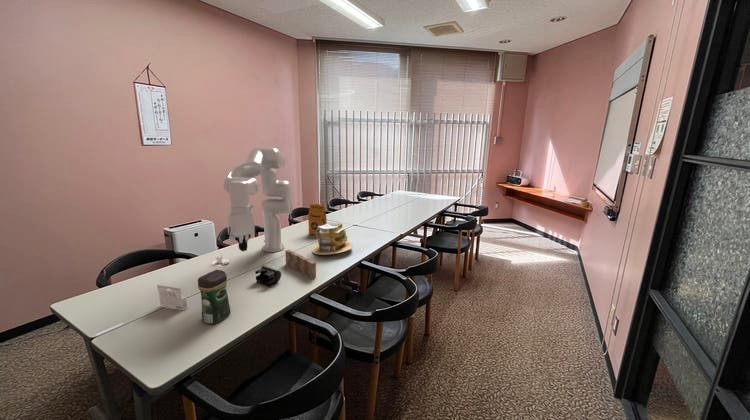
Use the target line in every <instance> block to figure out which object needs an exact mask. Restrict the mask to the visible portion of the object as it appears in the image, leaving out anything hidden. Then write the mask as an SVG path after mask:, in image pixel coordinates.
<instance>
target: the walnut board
mask: <svg viewBox="0 0 750 420" xmlns="http://www.w3.org/2000/svg"><path fill="white" fill-rule="evenodd" d="M285 264H286V265H287V266H289V267H290V268H292V269H294V270H295V271H298V272H299V273H301V274H303V275H305V276H307V277H308V278H310V279H312V280H314V279H316V278H317V262H315V261H313V260H311V259H309V258H307V257H305V256H303V255H301V254H298V252H295V251H293V250H291V249H285Z"/></svg>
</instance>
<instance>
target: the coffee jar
mask: <svg viewBox="0 0 750 420" xmlns="http://www.w3.org/2000/svg"><path fill="white" fill-rule="evenodd" d="M227 284H228V278H227V274H226V272H225V270H221V269H215V270H212V271H210V272H208V273H206V274H204V275H202V276H200V277H199V278H198V279H197V287H198V289H199V291H200V295H201V296H200V297H201V320H202V322H203V323H206V324H208V325H215V324H218V323H220V322H221V321H223V320H224V319H226V318H227V317H229V315H231V307H230V301H229V296H228V291H227Z"/></svg>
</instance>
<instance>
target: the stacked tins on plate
mask: <svg viewBox="0 0 750 420" xmlns="http://www.w3.org/2000/svg"><path fill="white" fill-rule="evenodd" d="M315 237H316V238H318V241H317V243H318V245H317V246H316V247H314V248H313V249H312V250H311V251H312V253H313V254H315V255H325V256H327V255H335V254H340V253H343V252H346V251H349V250H351V249H352V248H353V247H354V245H353V243H351V242H349V241H348V235H347V230H346V229H345V228H344V227H343V223H342V222H336V223H335V222H328V223H327V224H324V225H323V226H318V227H317V232H316V235H315Z"/></svg>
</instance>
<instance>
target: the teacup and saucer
mask: <svg viewBox="0 0 750 420" xmlns="http://www.w3.org/2000/svg"><path fill="white" fill-rule="evenodd" d="M223 257H224V256H223V255H216V256H215V261H213V262H212V263H211V264H212V266H216V267H218V266H220V267H221V266H224V265H226V264H227V265H228V264H229V263H230V261H229V260H227V259H224V258H223ZM215 263H217V264H215Z"/></svg>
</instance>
